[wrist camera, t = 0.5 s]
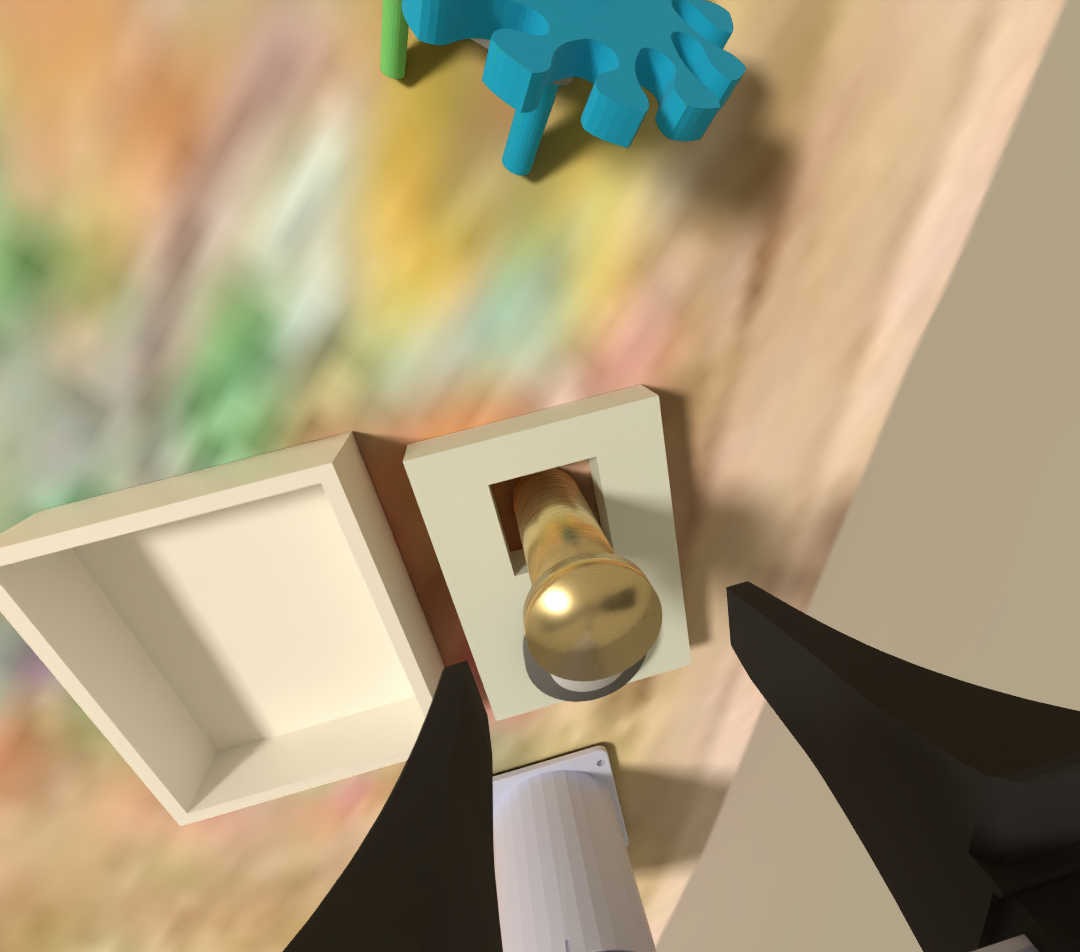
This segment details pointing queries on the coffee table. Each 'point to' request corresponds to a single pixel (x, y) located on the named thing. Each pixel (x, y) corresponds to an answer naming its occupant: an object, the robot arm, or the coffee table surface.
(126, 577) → the tray
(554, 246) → the coffee table surface
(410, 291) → the coffee table surface
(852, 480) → the coffee table surface
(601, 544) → the pin
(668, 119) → the gear
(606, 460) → the block
